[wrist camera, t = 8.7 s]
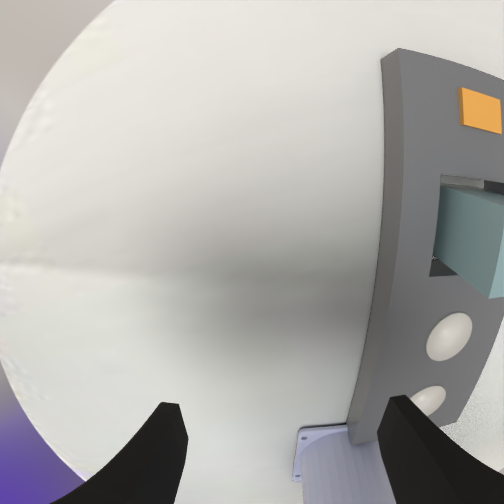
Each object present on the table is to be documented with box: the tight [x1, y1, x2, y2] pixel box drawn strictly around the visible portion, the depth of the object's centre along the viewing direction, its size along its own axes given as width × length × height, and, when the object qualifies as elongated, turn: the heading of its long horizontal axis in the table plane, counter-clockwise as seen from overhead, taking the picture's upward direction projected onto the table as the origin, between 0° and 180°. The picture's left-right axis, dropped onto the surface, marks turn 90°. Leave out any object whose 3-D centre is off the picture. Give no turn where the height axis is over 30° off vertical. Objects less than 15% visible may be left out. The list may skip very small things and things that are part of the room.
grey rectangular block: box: [433, 183, 504, 299], centre depth 13 cm, size 4×4×7 cm
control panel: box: [346, 48, 504, 445], centre depth 16 cm, size 26×10×3 cm, turn 2°
